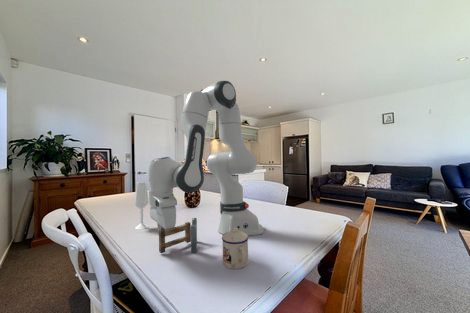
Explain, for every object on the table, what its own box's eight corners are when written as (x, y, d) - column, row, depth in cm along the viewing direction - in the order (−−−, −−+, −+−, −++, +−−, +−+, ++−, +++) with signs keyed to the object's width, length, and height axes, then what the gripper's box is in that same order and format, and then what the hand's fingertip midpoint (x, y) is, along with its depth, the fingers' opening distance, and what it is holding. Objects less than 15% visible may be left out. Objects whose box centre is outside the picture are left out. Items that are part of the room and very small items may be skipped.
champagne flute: (149, 227, 104) (149, 182, 104) (135, 230, 100) (135, 183, 100) (147, 224, 109) (147, 181, 110) (134, 226, 106) (133, 182, 106)
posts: (199, 240, 86) (199, 217, 86) (196, 252, 75) (196, 226, 75) (192, 240, 86) (192, 217, 86) (188, 253, 74) (187, 226, 75)
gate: (187, 241, 84) (187, 221, 84) (191, 243, 82) (191, 222, 82) (158, 252, 74) (158, 229, 74) (161, 254, 72) (161, 231, 73)
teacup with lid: (218, 259, 70) (218, 226, 70) (241, 253, 73) (241, 222, 73) (231, 277, 58) (230, 238, 59) (258, 270, 62) (257, 233, 62)
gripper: (145, 196, 83) (146, 229, 83) (161, 204, 67) (161, 245, 66) (160, 194, 87) (161, 225, 86) (179, 201, 71) (179, 240, 70)
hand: (161, 234), depth 76 cm, fingers closed
